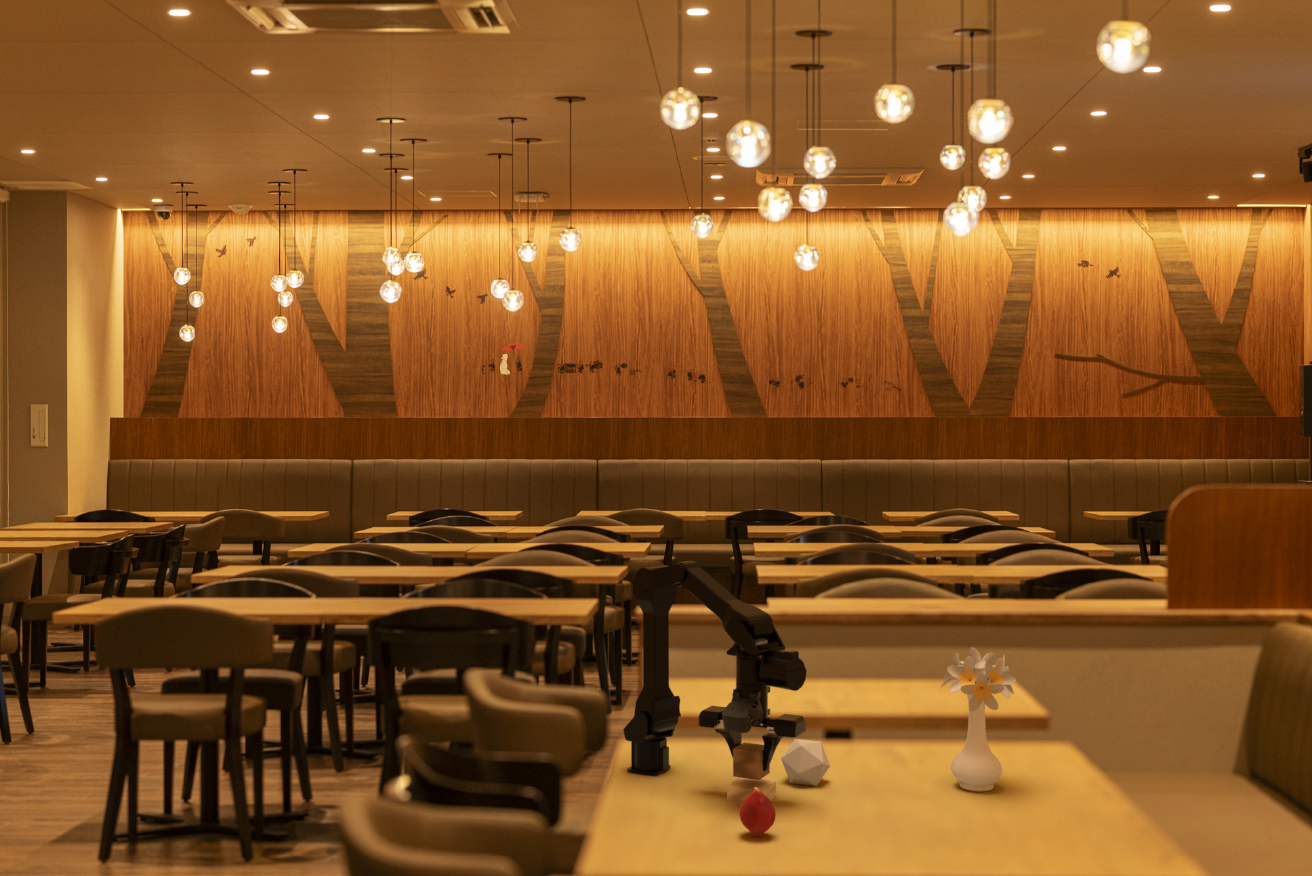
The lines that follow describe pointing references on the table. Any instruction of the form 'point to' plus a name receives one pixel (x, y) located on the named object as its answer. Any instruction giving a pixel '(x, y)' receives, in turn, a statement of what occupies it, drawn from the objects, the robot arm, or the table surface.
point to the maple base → (749, 789)
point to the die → (805, 762)
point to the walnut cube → (749, 761)
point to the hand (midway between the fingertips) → (751, 768)
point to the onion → (757, 813)
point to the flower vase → (978, 716)
